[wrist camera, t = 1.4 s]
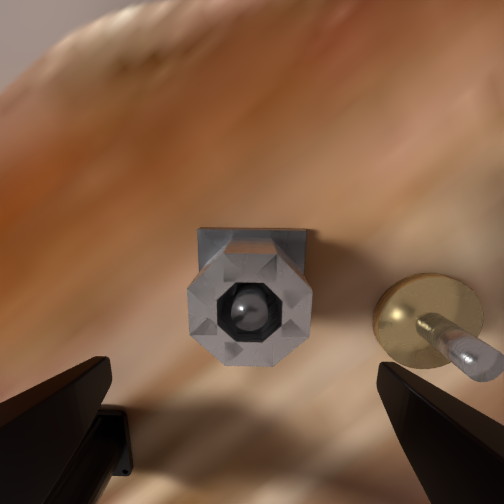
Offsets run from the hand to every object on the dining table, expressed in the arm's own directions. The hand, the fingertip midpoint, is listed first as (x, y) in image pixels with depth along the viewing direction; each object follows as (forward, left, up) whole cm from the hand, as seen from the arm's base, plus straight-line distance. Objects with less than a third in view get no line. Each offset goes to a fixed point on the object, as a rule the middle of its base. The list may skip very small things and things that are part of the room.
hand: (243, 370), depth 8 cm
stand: (0, 0, -9) cm, 9 cm away
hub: (-3, -13, -9) cm, 16 cm away
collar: (0, 0, -8) cm, 8 cm away
